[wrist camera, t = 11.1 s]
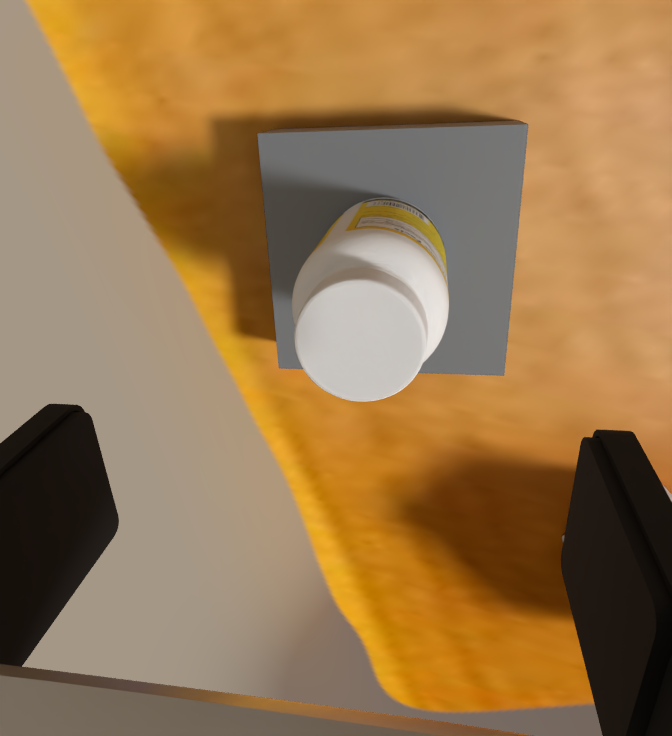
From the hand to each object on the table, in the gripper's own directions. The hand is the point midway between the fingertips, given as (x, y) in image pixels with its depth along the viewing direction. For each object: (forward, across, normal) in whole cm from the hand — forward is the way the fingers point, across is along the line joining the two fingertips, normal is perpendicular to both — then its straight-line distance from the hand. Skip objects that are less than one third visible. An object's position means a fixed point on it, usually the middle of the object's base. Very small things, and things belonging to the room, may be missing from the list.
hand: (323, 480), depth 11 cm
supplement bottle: (+17, 0, 0) cm, 17 cm away
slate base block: (+20, 0, 0) cm, 20 cm away
